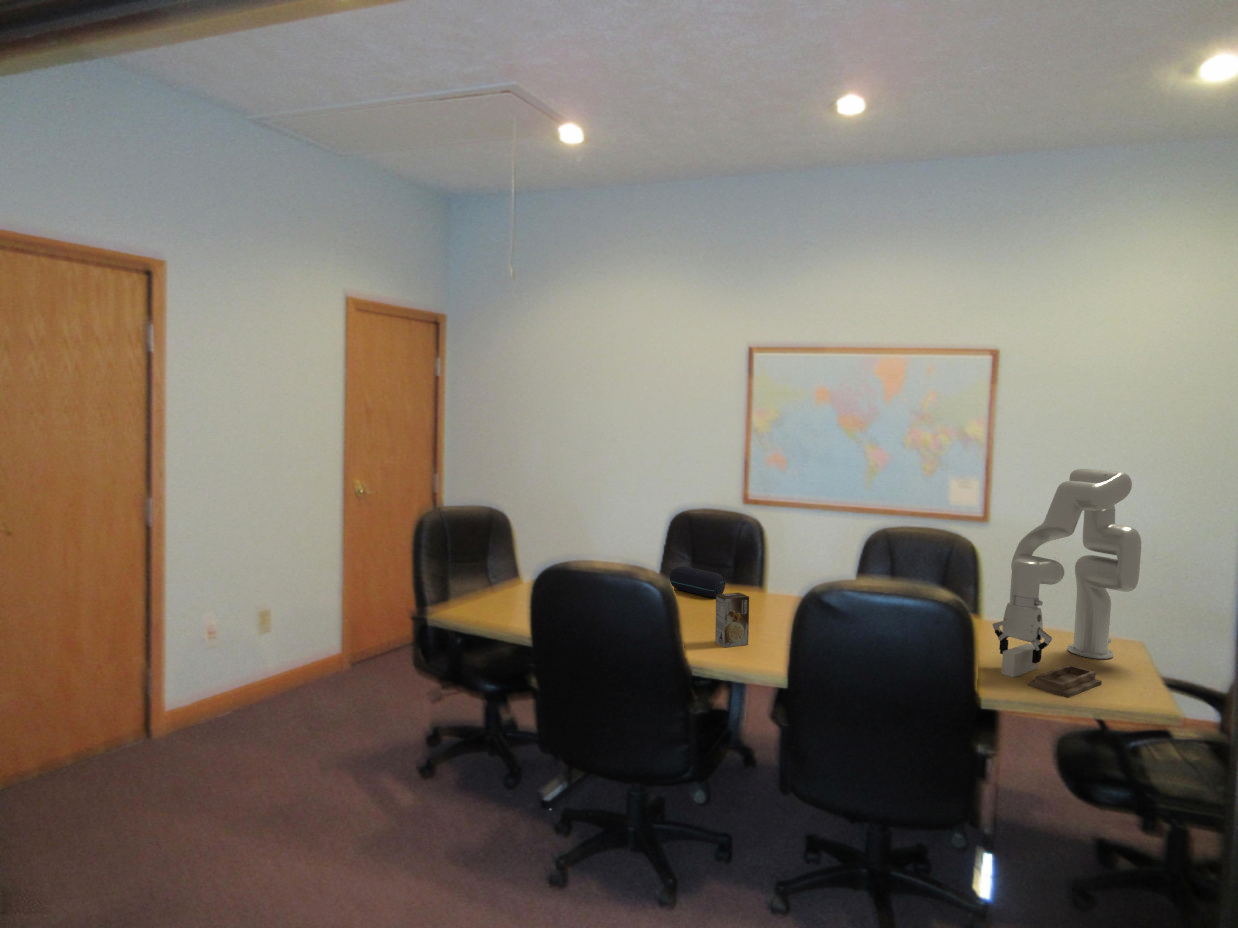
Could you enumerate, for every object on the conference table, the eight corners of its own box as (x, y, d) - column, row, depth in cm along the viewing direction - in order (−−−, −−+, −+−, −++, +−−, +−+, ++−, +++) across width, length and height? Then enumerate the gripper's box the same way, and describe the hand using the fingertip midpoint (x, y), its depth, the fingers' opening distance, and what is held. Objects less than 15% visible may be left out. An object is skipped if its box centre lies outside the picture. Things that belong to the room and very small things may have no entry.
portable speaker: (729, 597, 315) (730, 573, 314) (714, 601, 308) (714, 576, 307) (682, 586, 333) (682, 563, 332) (666, 589, 326) (667, 566, 325)
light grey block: (1026, 665, 238) (1027, 643, 237) (1037, 669, 235) (1039, 646, 235) (1001, 674, 230) (1002, 651, 229) (1013, 677, 227) (1014, 654, 227)
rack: (1061, 672, 232) (1062, 662, 232) (1101, 684, 223) (1102, 673, 223) (1028, 684, 221) (1028, 674, 221) (1068, 697, 212) (1069, 686, 212)
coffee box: (738, 639, 259) (740, 591, 257) (748, 645, 253) (750, 596, 252) (714, 642, 255) (715, 593, 254) (724, 647, 249) (725, 598, 248)
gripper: (1060, 606, 226) (1055, 664, 227) (1002, 593, 240) (998, 648, 241) (1047, 609, 222) (1042, 668, 223) (988, 596, 236) (984, 651, 237)
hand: (1019, 657), depth 232 cm, fingers open, 9 cm apart
